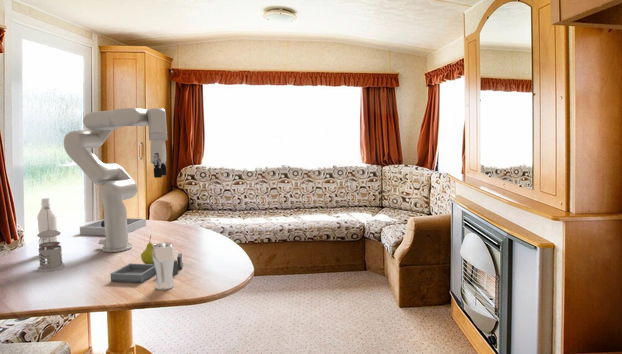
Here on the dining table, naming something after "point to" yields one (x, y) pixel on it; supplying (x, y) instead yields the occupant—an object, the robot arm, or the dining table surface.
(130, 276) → the grey square tray
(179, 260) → the clip
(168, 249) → the beer glass
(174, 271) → the clip
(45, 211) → the water bottle
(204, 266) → the dining table surface
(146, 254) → the fruit
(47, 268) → the french press
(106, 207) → the robot arm
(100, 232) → the tray
